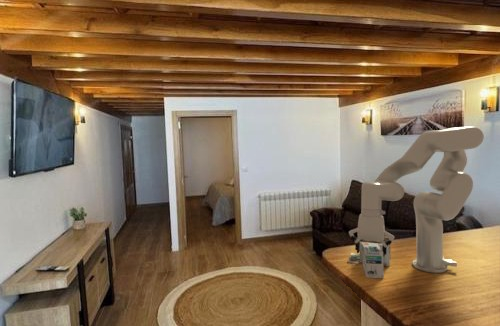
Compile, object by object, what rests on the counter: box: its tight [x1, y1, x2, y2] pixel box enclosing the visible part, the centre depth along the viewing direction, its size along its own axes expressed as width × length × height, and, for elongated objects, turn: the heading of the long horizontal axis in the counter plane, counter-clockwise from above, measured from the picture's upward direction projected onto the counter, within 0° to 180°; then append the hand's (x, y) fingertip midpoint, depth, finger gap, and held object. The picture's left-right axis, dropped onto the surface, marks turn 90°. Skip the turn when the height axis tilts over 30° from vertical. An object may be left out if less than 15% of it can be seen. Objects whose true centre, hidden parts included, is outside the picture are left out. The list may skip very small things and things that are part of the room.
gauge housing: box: [347, 235, 391, 265], centre depth 136 cm, size 17×12×10 cm
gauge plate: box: [348, 241, 391, 267], centre depth 132 cm, size 16×1×9 cm, turn 63°
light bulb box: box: [362, 243, 385, 279], centre depth 123 cm, size 11×7×11 cm, turn 168°
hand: (370, 253), depth 123 cm, fingers open, 9 cm apart
